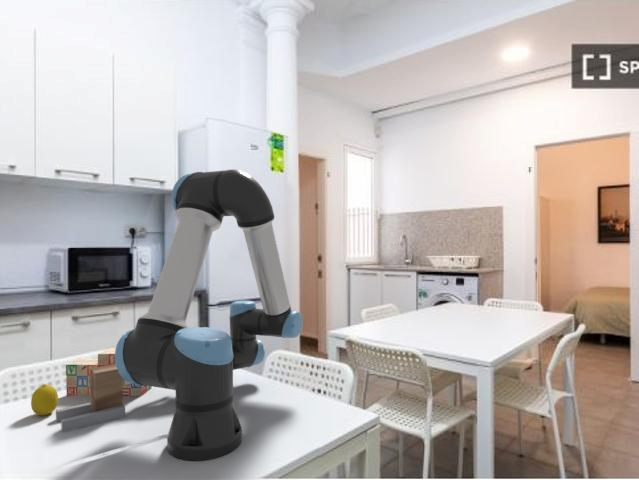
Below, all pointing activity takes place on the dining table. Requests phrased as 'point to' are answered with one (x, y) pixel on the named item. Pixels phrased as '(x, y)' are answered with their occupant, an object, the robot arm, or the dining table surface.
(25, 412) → the dining table surface
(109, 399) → the block
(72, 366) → the stack of blocks
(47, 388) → the lemon
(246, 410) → the dining table surface
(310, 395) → the dining table surface
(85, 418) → the chute
